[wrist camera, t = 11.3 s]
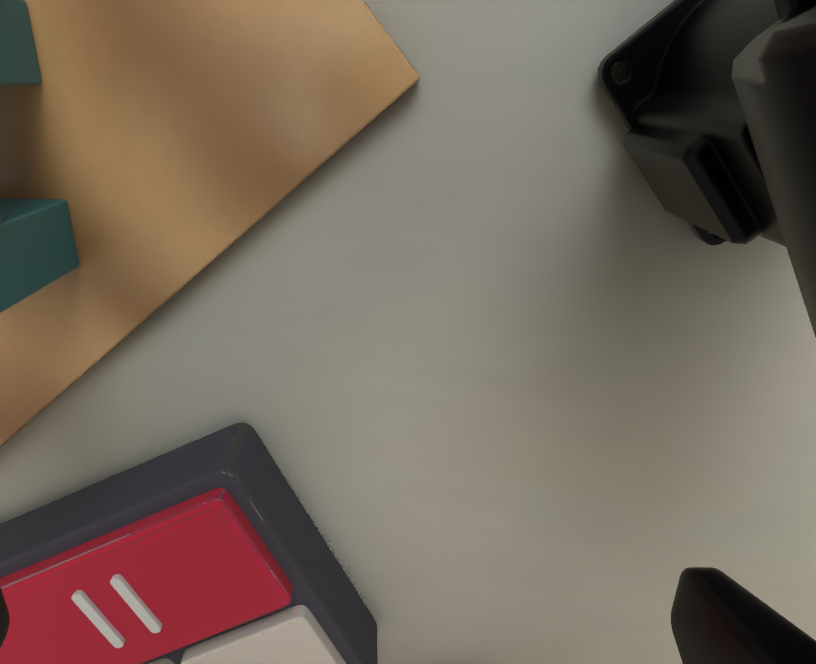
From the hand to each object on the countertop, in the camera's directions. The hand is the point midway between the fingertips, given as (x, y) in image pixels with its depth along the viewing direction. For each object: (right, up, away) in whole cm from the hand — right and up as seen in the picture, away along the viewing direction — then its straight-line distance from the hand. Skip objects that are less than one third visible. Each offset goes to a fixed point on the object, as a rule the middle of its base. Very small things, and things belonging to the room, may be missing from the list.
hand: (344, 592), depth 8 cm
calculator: (-9, -7, +16) cm, 20 cm away
